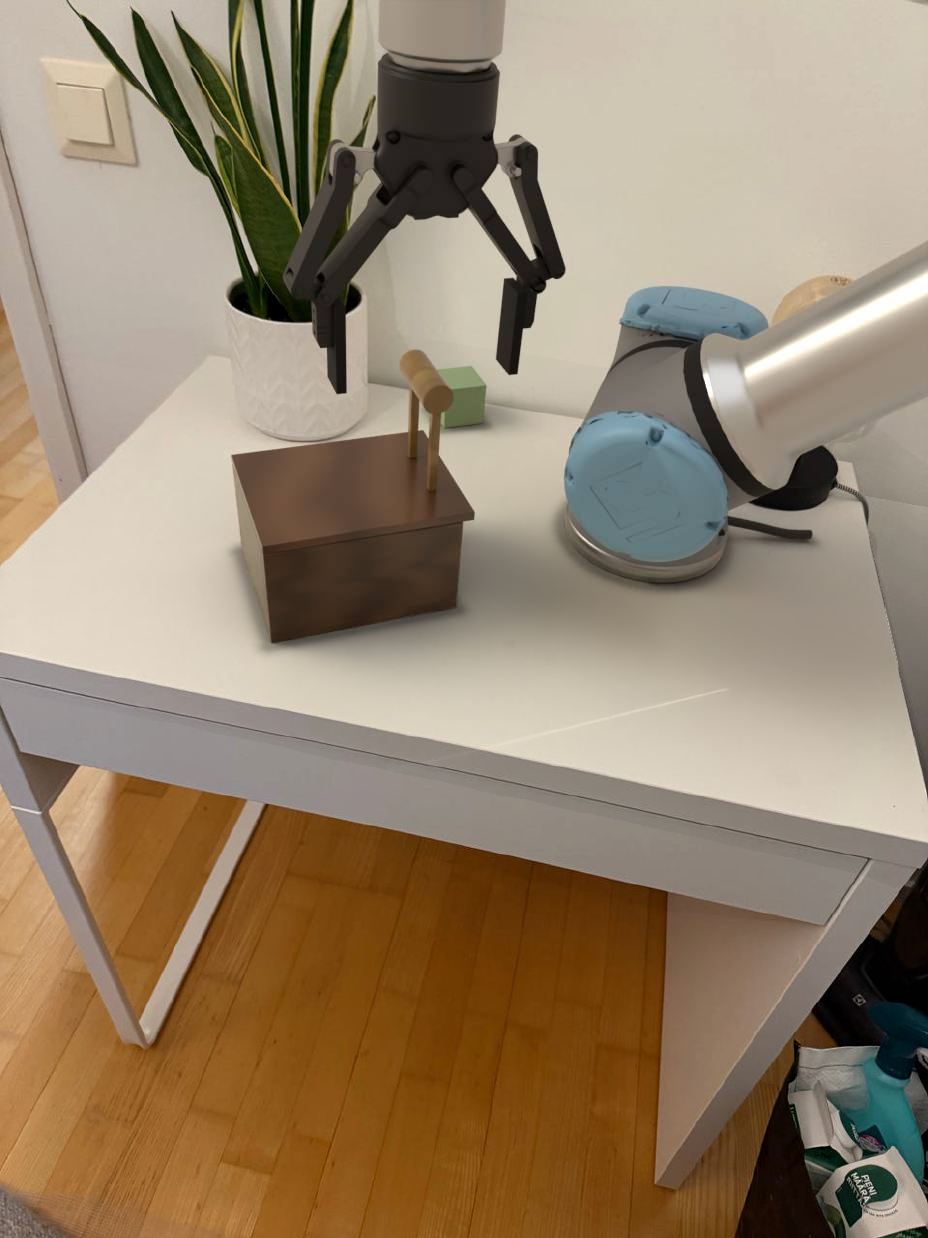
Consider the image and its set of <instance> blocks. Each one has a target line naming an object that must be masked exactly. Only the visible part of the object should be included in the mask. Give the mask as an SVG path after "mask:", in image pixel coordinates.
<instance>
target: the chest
mask: <svg viewBox="0 0 928 1238" xmlns="http://www.w3.org/2000/svg"><path fill="white" fill-rule="evenodd" d="M231 468H232V476H233V477H232V478H233V483H234V484H233V485H234V493H235V504H236V511H237V512H236V513H237V520H238V528H239V538H240V548H241V551H242V554H243V558H244V561H245V564H246V567H247V570H248V573H249V577H250V580H251V583H252V586H253V591H254V593H255V596H256V599H257V602H258V606H259V608H260V609H259V610H260V612H261V615H262V618H263V621H264V625H265V628H266V631H267V635H268V637H269V641H270V643H271V644H274V643H279V642H284V641H288V640H295V639H299V638H305V637H309V636H315V635H321V634H325V633H331V632H336V631H340V630H345V629H346V630H347V629H352V628H357V627H362V626H367V625H372V624H377V623H383V622H388V621H393V620H398V619H403V618H408V617H413V616H419V615H425V614H429V613H434V612H440V611H445V610H451V609H456V608H457V605H458V604H457V603H458V589H459V579H460V578H459V577H460V568H461V567H460V565H461V556H462V555H461V554H462V543H463V533H464V532H463V531H464V522H459V523H452V524H446V525H440V526H434V527H428V528H422V529H416V530H410V531H403V532H397V533H391V534H385V535H379V536H373V537H367V538H361V539H354V540H348V541H342V542H336V543H330V544H324V545H318V546H312V547H305V548H299V549H293V550H287V551H281V552H275V553H269V554H263V553H262V550H261V547H260V544H259V541H258V539H257V536H256V533H255V530H254V527H253V524H252V521H251V518H250V515H249V512H248V509H247V506H246V503H245V500H244V497H243V494H242V491H241V488H240V485H239V482H238V479H237V476H236V473H235V470H234V467H233V464H232V463H231Z"/></svg>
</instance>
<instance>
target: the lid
mask: <svg viewBox="0 0 928 1238" xmlns="http://www.w3.org/2000/svg"><path fill="white" fill-rule="evenodd" d="M398 367H399V371H400V373H401V374H402V376H403V378H404V379H405V381H406V382H407V383H408V385H409V390H408V391H409V393H408V418H407V419H408V420H407V431H404V432H397V433H396V432H395V433H389V434H382V435H381V434H380V435H373V436H366V437H365V436H364V437H357V438H351V439H344V440H343V439H342V440H335V441H327V442H320V443H312V444H304V445H297V446H289V447H280V448H273V449H266V450H258V451H249V452H242V453H235V454H231V455H230V459H231V465H232V464H233V467H234V470H235V473H236V476H237V479H238V482H239V485H240V488H241V491H242V494H243V497H244V500H245V503H246V506H247V509H248V512H249V515H250V518H251V521H252V524H253V527H254V530H255V533H256V536H257V539H258V541H259V544H260V547H261V550H262V553H263V554H269V553H275V552H281V551H287V550H293V549H299V548H305V547H312V546H318V545H324V544H330V543H336V542H342V541H348V540H354V539H361V538H367V537H373V536H379V535H385V534H391V533H397V532H403V531H410V530H416V529H422V528H428V527H434V526H440V525H446V524H452V523H459V522H463V523H464V522H470V521H475V515H476V512H475V509H474V508H473V507H472V505H471V503H470V501H469V500H468V499H467V497H466V496H465V494H464V493H463V491H462V490H461V488H460V485H458V483H457V481H456V480H455V478H454V477H453V475H452V473H451V472H450V471H449V469H448V466H446V464H445V462H444V461H443V459H442V457H441V456H440V440H441V426H442V424H441V413H443V412H445V411H446V410H448V409H449V408H450V406H451V405H452V402H453V392H452V390H451V389H450V387H449V386H448V384H447V383H446V382H445V380H444V379H443V377H442V376H441V375H440V373H439V372H438V370H437V368H436V366H435V365H434V363H433V362H432V361H431V359H430V358H429V356H428V355H427V354H426V352H424V351H422V350H420V349H411V350H408V351H406V352H405V353H404V354H403V355H402V357H401V358H400V360H399V366H398ZM420 404H421V405H422V407H423V408H424V410H425V411H426V412H427V413H429V425H428V426H429V428H428V436H427V434H426V432H425V431H424V430H423V429H420V430H419V422H420V420H419V419H420Z"/></svg>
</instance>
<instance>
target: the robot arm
mask: <svg viewBox="0 0 928 1238" xmlns="http://www.w3.org/2000/svg"><path fill="white" fill-rule="evenodd" d="M905 1H907V2H911V3H915V4H918V5H923V6H927V7H928V0H905ZM506 6H507V0H378V31H377V33H378V37H377V38H378V39H377V42H378V44H380V46H381V48H383V49H384V50H386V51H387V52H386V53H384V54H383V55H382V56H381V58H380V59H379V60H378V61H377V96H376V97H377V99H376V101H377V104H376V105H377V107H376V108H377V110H376V113H377V114H376V122H377V123H376V125H377V129H376V130H377V131H376V132H377V133H376V136H375V140H374V142H373V144H372V146H371V147H362V146H353V145H347V144H346V143H345V142H344V141H343V140H341V139H339V138H334V139H332V140H331V141H330V142H329V143H328V146H327V152H326V161H325V162H326V165H325V176H324V178H323V180H322V183H321V185H320V188H319V190H318V192H317V195H316V197H315V199H314V201H313V204H312V206H311V208H310V211H309V214H308V216H307V218H306V221H305V222H304V225H303V227H302V230H301V232H300V234H299V237H298V238H297V241H296V243H295V246H294V248H293V250H292V253H291V255H290V257H289V260H288V263H287V265H286V267H285V269H284V271H283V274H282V279H283V282H284V284H285V286H286V288H287V289H288V291H289V293H290V295H291V296H292V298H293V299H295V300H298V301H300V300H306V301H310V302H311V325H312V326H311V327H312V328H311V329H312V335H313V338H314V340H315V341H316V343H317V345H318V347H319V349H326V362H327V363H326V371H327V379H328V381H329V383H330V384H331V387H332V388H333V390H334V393H335V394H336V395H344V394H347V393H348V391H347V390H348V388H347V387H348V385H347V384H348V382H347V376H348V375H347V307H346V306H345V304H344V302H343V301H342V299H341V298H340V295H341V294H342V293H343V292H344V291H345V289H346V288H347V286H348V285H349V284H350V283H351V281H352V280H353V279H354V277H355V276H356V275H357V273H358V272H359V271H360V269H361V268H362V267H363V266H364V264H366V262H367V261H368V260H369V258H370V257H371V256H372V255H373V253H374V252H375V250H376V249H377V247H379V245H380V244H381V243H382V241H383V240H384V239H385V237H386V236H387V235H388V234H389V233H390V231H392V230H394V229H396V228H398V226H399V225H400V224H401V223H402V221H403V220H404V219H405V217H406V216H408V217H411V218H412V219H414V221H422V220H424V221H425V220H429V219H431V218H435V217H442V218H445V219H459V218H460V217H459V216H460V215H461V214H462V213H464V212H465V211H467V210H468V211H469V212H470V213H471V215H472V216H473V218H474V219H475V220H476V222H477V223H478V224H479V226H480V227H481V228H482V230H483V231H484V233H485V234H486V235H487V237H488V238H489V240H490V241H491V243H492V244H493V245H494V246H495V249H497V252H499V254H500V255H501V257H502V258H503V259H504V261H505V262H506V263H507V265H508V266H509V267H510V269H511V270H512V271H513V273H514V274H515V276H516V277H505V278H503V285H502V293H501V294H502V295H501V305H500V313H499V322H498V323H499V324H498V333H497V343H496V353H495V360H496V361H497V363H498V364H499V365H500V367H501V368H502V369H503V370H504V372H505V373H506V374H507V375H508V376H515V375H519V374H518V373H519V367H520V358H521V349H522V342H523V332H524V329H531V328H532V326H533V325H534V322H535V316H536V315H535V314H536V308H537V300H538V295H540V294H542V293H543V292H544V291H546V288H547V281H549V280H551V279H553V280H560V279H562V278H563V277H564V276H565V274H566V270H567V269H566V264H565V262H564V258H563V255H562V252H561V248H560V245H559V242H558V239H557V236H556V234H555V233H556V232H555V229H554V227H553V223H552V220H551V217H550V215H549V211H548V208H547V205H546V202H545V198H544V195H543V192H542V188H541V185H540V183H539V180H538V179H539V150H538V148H537V146H535V144H533V143H532V142H530V141H529V140H527V139H526V137H523V135H521V134H518V133H515V134H512V135H511V136H510V137H509V139H508V141H505V142H498V143H495V139H494V132H495V128H496V124H497V114H498V113H497V112H498V111H497V110H498V102H499V89H500V79H501V78H500V77H501V71H500V69H498V66H497V64H496V63H495V62H494V61H492V60H495V59H496V58H497V57H499V56H500V55H501V54H502V52H503V48H504V47H503V46H504V45H503V44H504V34H505V32H504V31H505V21H506V19H505V18H506ZM498 165H500V170H501V171H502V173H504V174H505V176H507V177H508V179H509V182H510V185H511V189H512V191H513V194H514V198H515V200H516V203H517V206H518V209H519V212H520V215H521V217H522V220H523V221H522V222H523V224H524V226H525V229H526V232H527V235H528V238H529V241H530V244H531V247H532V250H533V253H534V255H535V258H533V259H530V258H529V257H528V255H527V253H526V252H525V251H524V249H523V248H522V246H521V244H520V243H519V242H518V241H517V239H516V237H515V236H514V235H513V233H512V231H511V230H510V228H509V227H508V226H507V225H506V222H504V220H503V219H502V217H501V216H500V214H499V213H498V211H497V208H496V207H495V206H494V204H493V203H492V202H491V200H490V198H489V197H488V196H487V194H486V193H485V192H484V190H483V187H484V186H485V185H486V184H487V182H488V181H489V179H490V178H491V176H492V175H493V173H494V172H495V171H496V169H497V167H498ZM369 170H372V171H373V172H374V173H375V175H376V176H377V178H378V179H379V184H377V186H376V188H375V189H374V190H373V191H372V193H371V194H370V195H369V198H368V200H367V202H366V206H365V208H364V209H362V211H361V212H360V214H359V215H358V217H357V218H356V219H355V221H354V222H353V223H352V225H351V226H350V227H349V229H348V230H347V231H346V232H345V234H344V235H343V236H342V238H341V239H340V240H339V241H338V243H337V244H336V246H335V247H334V248H333V249H332V251H331V252H330V254H329V255H328V256H327V257H326V255H327V253H328V250H329V248H330V246H331V244H332V241H333V239H334V238H335V235H336V233H337V230H338V227H339V226H340V223H341V221H342V219H343V216H344V214H345V212H346V209H347V208H348V206H349V203H350V200H351V198H352V195H353V190H354V186H357V185H359V184H360V183H362V181H363V179H364V177H365V176H364V175H365V174H366V173H367V172H368V171H369ZM325 257H326V259H325ZM618 324H619V325H621V326H620V331H619V335H618V340H617V343H616V344H617V345H616V349H615V352H614V356H613V360H612V362H611V364H610V367H609V369H608V371H607V372H606V375H605V377H604V379H603V381H602V383H601V385H600V387H599V388H598V391H597V392H596V394H595V397H594V399H593V401H592V403H591V406H590V408H589V409H588V411H587V413H586V416H585V417H584V420H583V421H582V423H581V425H580V426H579V427H578V428H577V430H576V431H575V433H574V434H573V437H572V438H571V440H570V445H569V448H568V456H567V458H566V462H565V466H564V471H563V486H564V487H563V488H564V493H565V497H566V501H567V505H566V510H565V511H566V512H565V516H564V530H565V533H566V536H567V538H568V540H569V542H570V543H571V545H572V546H573V547H574V549H575V550H576V551H577V552H578V553H579V554H580V555H582V556H583V558H585V559H587V561H589V562H590V563H592V564H594V565H595V566H597V567H599V568H601V569H603V570H605V571H607V572H609V573H612V574H614V575H617V576H620V577H623V578H627V579H630V580H635V581H639V582H640V581H641V582H647V583H678V582H684V581H687V580H692V579H696V578H699V577H701V576H703V575H704V574H706V573H708V572H710V571H711V570H712V569H714V568H715V566H716V565H717V564H718V563H719V562H720V560H721V559H722V557H723V555H724V554H723V553H724V551H725V547H726V544H727V542H728V538H729V532H730V531H729V526H730V527H734V528H739V529H743V530H744V529H745V530H749V531H754V532H758V533H762V534H766V535H769V536H773V537H777V538H784V539H791V540H811V539H812V538H813V530H812V529H792V528H791V529H790V528H784V527H778V526H774V525H770V524H768V523H763V522H758V521H754V520H750V519H746V518H740V517H736V516H730V515H729V511H732V510H734V509H736V508H738V507H740V506H743V505H745V504H747V503H749V502H752V501H754V500H757V499H759V498H761V497H763V496H765V495H768V494H770V493H773V492H775V491H776V490H779V489H781V488H783V487H784V486H786V485H787V484H788V482H789V479H790V477H791V474H792V472H793V470H794V467H795V464H796V462H797V460H798V459H799V458H800V456H802V455H803V454H806V453H808V452H810V451H812V450H814V449H816V448H818V447H821V446H823V445H825V444H828V443H829V442H831V441H835V440H837V439H838V438H841V437H843V436H845V435H847V434H850V433H852V432H854V431H856V430H858V429H861V428H863V427H865V426H868V425H870V424H871V423H875V422H876V421H879V420H881V419H883V418H885V417H888V416H890V415H892V414H894V413H896V412H899V411H900V410H903V409H905V408H907V407H909V406H911V405H914V404H916V403H918V402H920V401H923V400H925V399H927V398H928V240H926V241H924V242H922V243H920V244H918V245H917V246H915V247H913V248H911V249H910V250H907V251H906V252H904V253H901V254H900V255H898V256H896V257H895V258H893V259H891V260H889V261H888V262H886V263H884V264H881V265H880V266H879V267H876V268H875V269H873V270H871V271H868V273H865V274H864V275H862V276H860V277H858V278H856V279H855V280H853V281H851V282H849V283H848V284H846V285H843V286H842V287H840V288H838V289H837V290H834V291H833V292H831V293H829V294H828V295H825V296H823V297H822V298H820V299H818V300H817V301H815V302H813V303H810V304H809V305H807V306H806V307H804V308H801V309H800V310H798V311H796V312H794V313H793V314H791V315H788V316H787V317H786V318H783V319H782V320H780V321H778V322H775V324H773V325H771V326H769V321H768V318H767V317H766V315H765V314H764V313H763V312H762V311H761V310H760V309H758V308H757V307H755V306H754V305H752V304H750V303H748V302H745V301H743V300H741V299H738V298H736V297H734V296H729V295H727V294H723V293H721V292H715V291H711V290H706V289H701V288H695V287H690V286H689V287H688V286H678V285H677V286H675V285H659V286H658V285H657V286H650V287H644V288H642V289H638V290H637V291H635V292H633V293H632V294H631V295H630V296H629V297H628V299H627V301H626V303H625V306H624V309H623V313H622V317H620V318H619V321H618Z"/></svg>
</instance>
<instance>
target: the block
mask: <svg viewBox="0 0 928 1238" xmlns="http://www.w3.org/2000/svg"><path fill="white" fill-rule="evenodd" d="M436 369H437V368H436ZM437 370H438V372H439V373H440V375H441V376H442V377H443V379H444V380H445V382H446V383H447V384H448V386H449V387H450V389H451V390H452V392H453V402H452V405H451V406H450V408H449V409H448V410H446V411H445V412H443V413H441V426H442V427H443V428H444V429H447V428H455V427H463V426H470V425H479V424H483V423H484V415H485V406H486V397H487V396H486V395H487V386H488V385H487V384H486V383H485V381H484V380H483V379H482V378H481V376H480V374H478V372H477V371H476V370H475V368H474V367H473V366H472V365H466V366H456V367H447V368H438V369H437Z"/></svg>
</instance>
